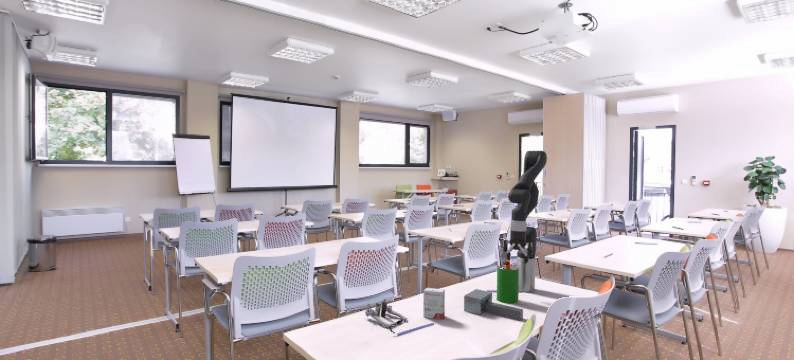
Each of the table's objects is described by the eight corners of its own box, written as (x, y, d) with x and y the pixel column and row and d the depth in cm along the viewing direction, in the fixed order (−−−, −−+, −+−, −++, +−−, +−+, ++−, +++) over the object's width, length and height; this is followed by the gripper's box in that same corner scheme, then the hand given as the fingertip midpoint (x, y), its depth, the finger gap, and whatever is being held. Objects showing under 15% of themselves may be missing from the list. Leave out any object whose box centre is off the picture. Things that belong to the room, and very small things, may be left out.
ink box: (445, 316, 176) (445, 289, 176) (442, 320, 172) (443, 292, 171) (426, 313, 179) (426, 287, 179) (423, 317, 174) (423, 290, 174)
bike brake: (360, 317, 172) (393, 339, 158) (362, 302, 171) (395, 322, 157) (384, 309, 182) (417, 329, 168) (386, 295, 181) (419, 314, 167)
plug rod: (479, 308, 186) (479, 299, 186) (522, 318, 174) (523, 309, 174) (476, 310, 183) (476, 301, 183) (519, 320, 171) (520, 311, 171)
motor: (516, 297, 201) (517, 257, 200) (520, 303, 192) (521, 261, 191) (495, 296, 202) (496, 256, 201) (498, 303, 193) (499, 261, 192)
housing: (475, 303, 192) (476, 289, 192) (491, 307, 187) (492, 292, 187) (463, 310, 182) (464, 295, 182) (480, 315, 178) (480, 299, 177)
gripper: (535, 230, 201) (534, 263, 201) (507, 227, 210) (506, 258, 210) (530, 231, 195) (528, 265, 195) (501, 228, 204) (500, 261, 204)
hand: (517, 262), depth 203 cm, fingers open, 8 cm apart
